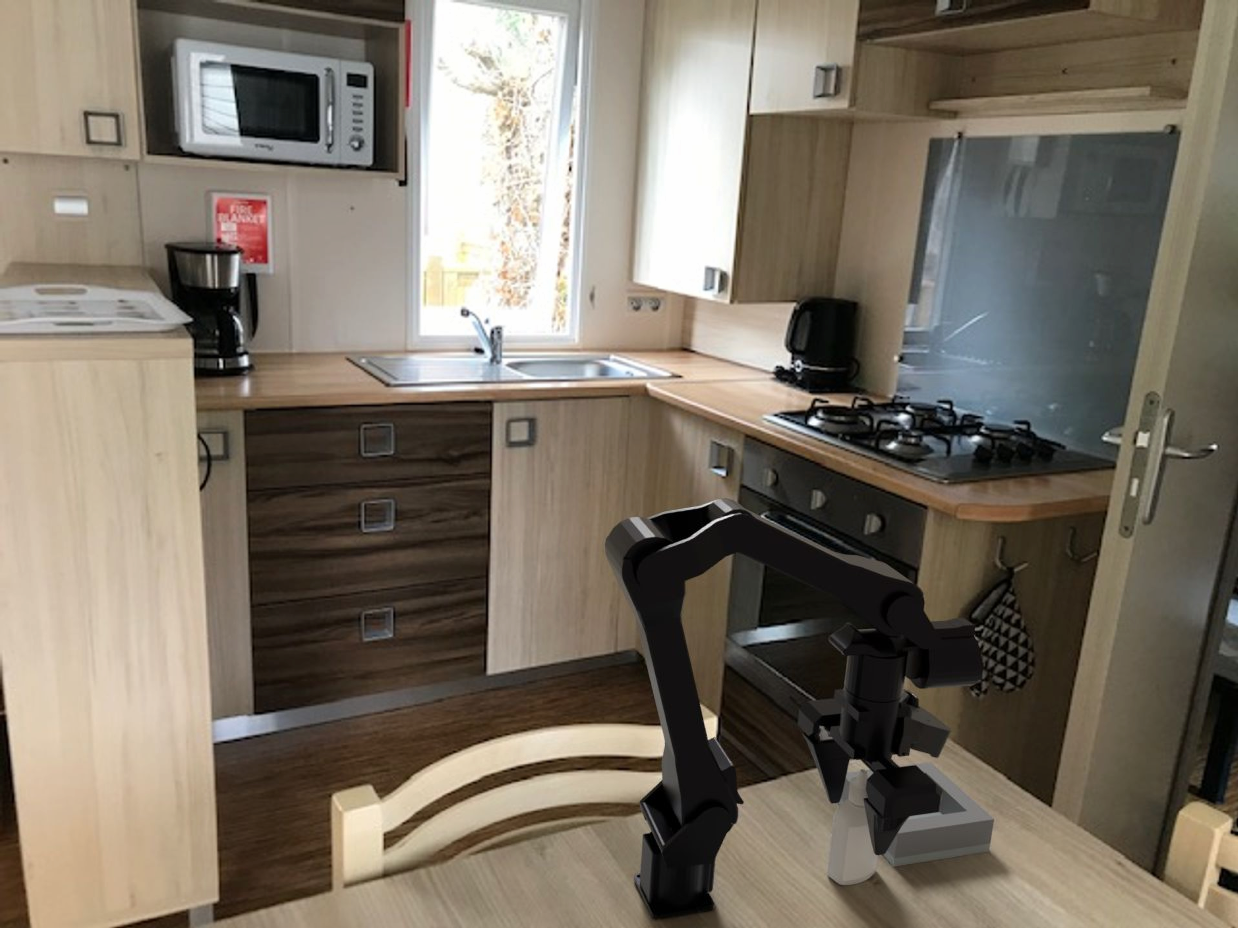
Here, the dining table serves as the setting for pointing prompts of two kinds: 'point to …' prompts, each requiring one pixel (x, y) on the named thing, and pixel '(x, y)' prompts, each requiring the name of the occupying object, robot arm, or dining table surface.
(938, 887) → the dining table surface
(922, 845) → the holder block
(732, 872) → the dining table surface
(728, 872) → the dining table surface
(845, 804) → the eye dropper bottle
